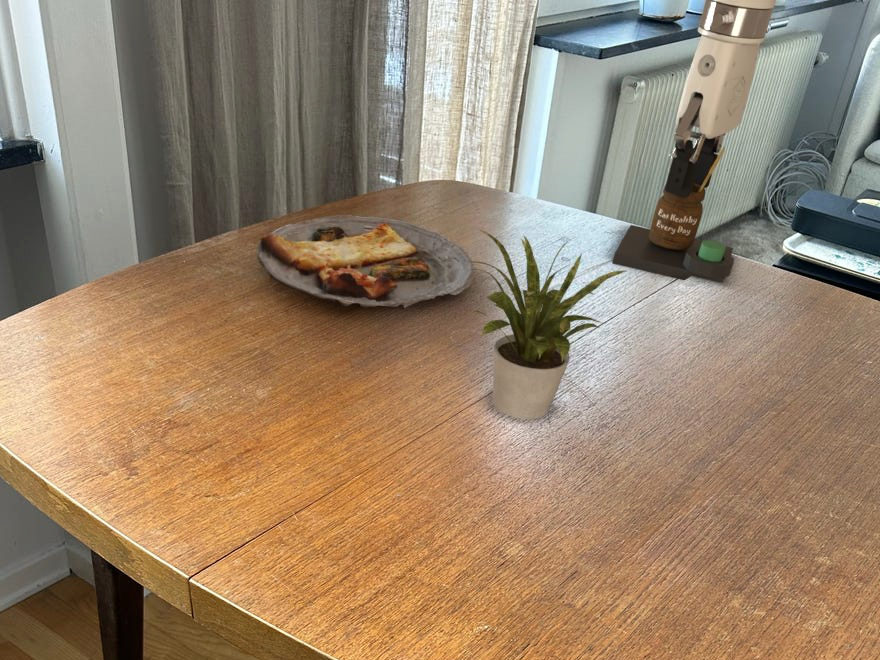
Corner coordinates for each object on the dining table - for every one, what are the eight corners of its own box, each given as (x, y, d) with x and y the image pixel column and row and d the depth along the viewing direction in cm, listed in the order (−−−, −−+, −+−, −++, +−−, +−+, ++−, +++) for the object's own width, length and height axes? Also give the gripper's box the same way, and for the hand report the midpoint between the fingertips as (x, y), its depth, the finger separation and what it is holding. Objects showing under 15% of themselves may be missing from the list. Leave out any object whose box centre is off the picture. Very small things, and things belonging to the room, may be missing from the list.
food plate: (311, 332, 99) (313, 299, 97) (225, 248, 113) (224, 217, 111) (506, 302, 110) (512, 272, 107) (405, 228, 124) (408, 200, 121)
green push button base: (733, 258, 128) (740, 236, 126) (723, 293, 118) (731, 269, 116) (628, 235, 130) (633, 212, 128) (610, 266, 121) (616, 242, 119)
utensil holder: (649, 230, 127) (675, 133, 119) (696, 239, 126) (725, 142, 118) (645, 245, 123) (672, 145, 115) (693, 254, 122) (724, 154, 114)
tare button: (722, 257, 120) (727, 243, 119) (719, 265, 118) (724, 251, 117) (698, 252, 121) (703, 238, 119) (696, 260, 118) (700, 245, 117)
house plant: (403, 406, 90) (423, 229, 79) (483, 360, 98) (511, 195, 87) (530, 466, 84) (571, 285, 73) (603, 411, 93) (650, 243, 82)
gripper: (736, 36, 101) (684, 212, 113) (792, 21, 112) (739, 184, 124) (672, 21, 104) (629, 194, 116) (733, 8, 115) (687, 168, 127)
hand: (686, 187), depth 120 cm, fingers closed on utensil holder, 5 cm apart
